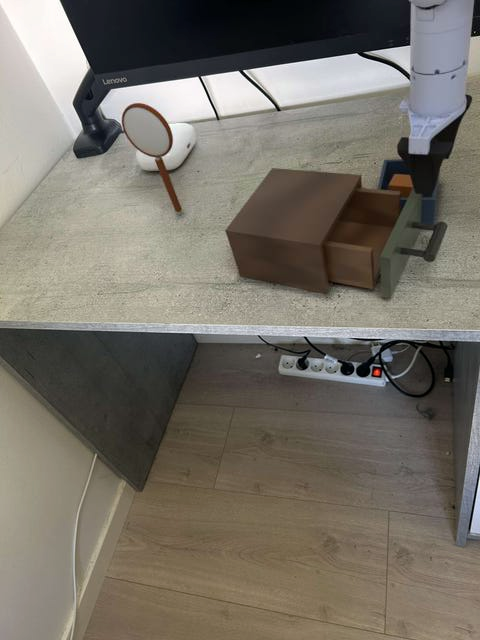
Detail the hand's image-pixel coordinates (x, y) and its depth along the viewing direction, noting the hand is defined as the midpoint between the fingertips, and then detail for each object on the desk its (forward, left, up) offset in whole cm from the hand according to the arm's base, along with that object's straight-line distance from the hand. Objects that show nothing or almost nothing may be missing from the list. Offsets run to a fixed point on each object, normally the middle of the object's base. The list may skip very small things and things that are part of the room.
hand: (432, 174), depth 61 cm
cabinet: (+18, 0, -9) cm, 20 cm away
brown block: (+2, -7, -9) cm, 11 cm away
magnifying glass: (+39, -14, -10) cm, 42 cm away
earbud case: (+44, -34, -10) cm, 56 cm away
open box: (+2, -7, -9) cm, 12 cm away
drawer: (+8, +5, -8) cm, 12 cm away
